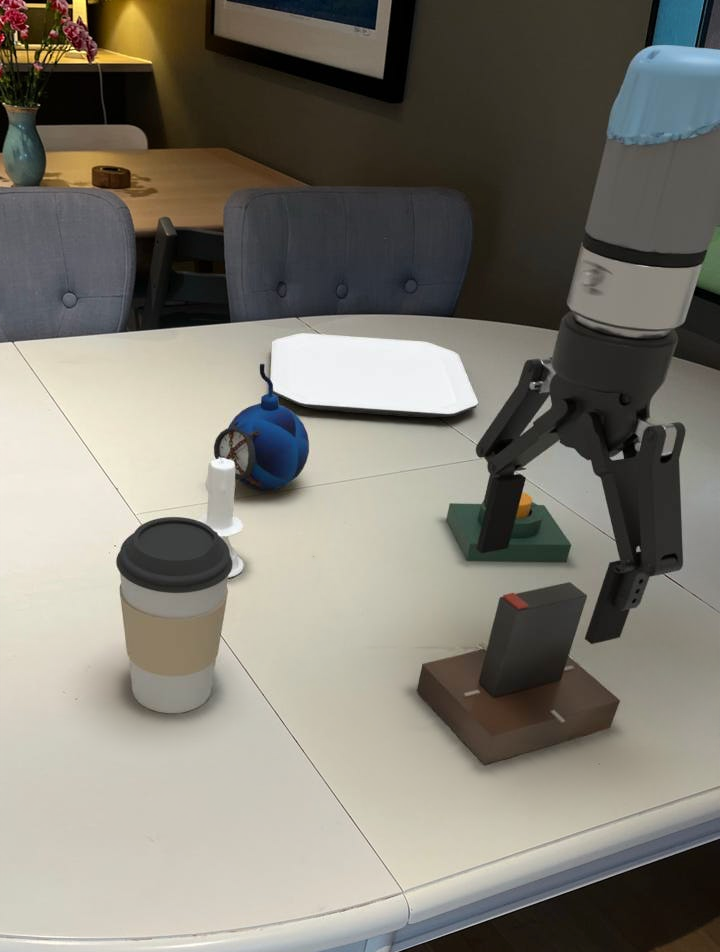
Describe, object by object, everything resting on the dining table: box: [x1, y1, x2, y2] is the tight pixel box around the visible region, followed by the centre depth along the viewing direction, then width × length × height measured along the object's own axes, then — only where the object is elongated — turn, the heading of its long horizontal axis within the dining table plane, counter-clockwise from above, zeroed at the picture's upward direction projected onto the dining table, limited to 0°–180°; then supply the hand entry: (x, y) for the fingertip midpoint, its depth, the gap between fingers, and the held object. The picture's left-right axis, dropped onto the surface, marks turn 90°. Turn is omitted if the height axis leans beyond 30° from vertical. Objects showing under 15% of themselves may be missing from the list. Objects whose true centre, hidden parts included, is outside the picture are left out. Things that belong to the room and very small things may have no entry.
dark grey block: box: [479, 581, 588, 697], centre depth 80 cm, size 7×2×9 cm, turn 114°
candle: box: [196, 457, 245, 579], centre depth 97 cm, size 5×5×12 cm
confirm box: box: [445, 500, 572, 563], centre depth 108 cm, size 11×9×4 cm
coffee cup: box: [115, 516, 233, 714], centre depth 80 cm, size 9×9×15 cm
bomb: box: [213, 363, 310, 491], centre depth 112 cm, size 10×11×15 cm
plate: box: [269, 332, 479, 419], centre depth 145 cm, size 29×29×2 cm
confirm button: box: [516, 491, 533, 518], centre depth 106 cm, size 4×4×2 cm
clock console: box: [416, 642, 621, 765], centre depth 84 cm, size 13×11×3 cm
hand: (543, 591), depth 77 cm, fingers open, 13 cm apart
